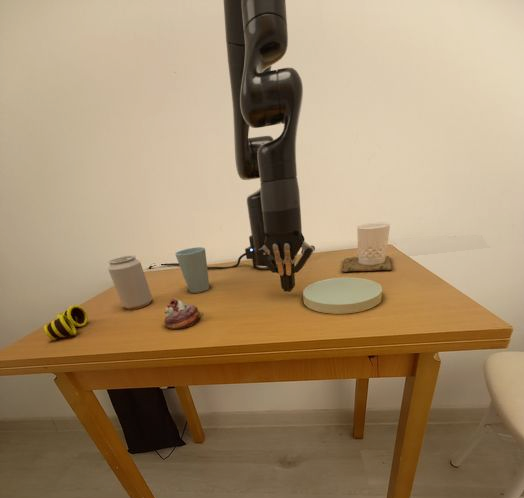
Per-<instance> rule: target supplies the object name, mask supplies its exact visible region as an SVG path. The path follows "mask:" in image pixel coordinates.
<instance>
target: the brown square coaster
mask: <svg viewBox="0 0 524 498" xmlns="http://www.w3.org/2000/svg"><path fill="white" fill-rule="evenodd" d="M391 263H392V262H391V260H390V257H389V255H385V261H384V262H383V263H380V264H373V265H364V264H360V263H359V262H358V256H352V257H346V258H344V261H343V266H342V273H347V272H372V271H392V270H393V269H392V264H391Z"/></svg>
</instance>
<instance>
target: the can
mask: <svg viewBox="0 0 524 498" xmlns="http://www.w3.org/2000/svg"><path fill="white" fill-rule="evenodd" d="M136 257H137V256H136V255H132V254H131V255H124V256H119V257H115V258H112V259H110V260H109V261H108V264H109V265H108V268H107V270H108V273H109V275H110V278H111V280H112V282H113V286H114V288H115V290H116V292H117V296H118V298H119V301H120V304H121V306H122V307H123V308H125V309H127V310H138V309H141V308H144V307H147V306H148V305H150V304H151V301H152V300H153V295H152V292H151V290H150V287H149V283H148V281H147V278H146V275H145V272H144V269H143V266H142V263H141V261H140V260H139V259H137V258H136Z"/></svg>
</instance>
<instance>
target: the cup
mask: <svg viewBox="0 0 524 498" xmlns="http://www.w3.org/2000/svg"><path fill="white" fill-rule="evenodd" d="M206 254H207V253H206V247H202V246H198V247H189V248H184V249H182V250H179V251H176V252H175V254H174V255H175V257H176V260H177V263H179V265H178V266H179V268H180V270H181V273H182V275H183V278H184V280H185V283H186V286H187V288H188V291H189V292H190V293H193V294H197V293H203V292H206V291H208V290H209V289H210V280H209V279H210V278H209V271H208V270H209V269H207V267H208V263H207V255H206Z"/></svg>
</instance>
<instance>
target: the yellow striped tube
mask: <svg viewBox="0 0 524 498" xmlns="http://www.w3.org/2000/svg"><path fill="white" fill-rule="evenodd" d="M88 321H89V315H88V313H87V310H86V309H85V308H84V307H82V306H81V305H78V304H77V305H76V304H73V305H70V306H69V307H68V308H67V309H65V310H64V311H63V312H61V313H58V314H57V316H56V318H55V319H53V320H52V321H51V322H49V323H48V324H45V325H44V326H43V330H44V333H45V334H46V336H47V337H48V338H49V339H51V340H53V341H55V340H58V339H60V338H67V337H68V336H76V335H77V329H76V327H78V328H82V327H84V326H85V325H87V323H88Z"/></svg>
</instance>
